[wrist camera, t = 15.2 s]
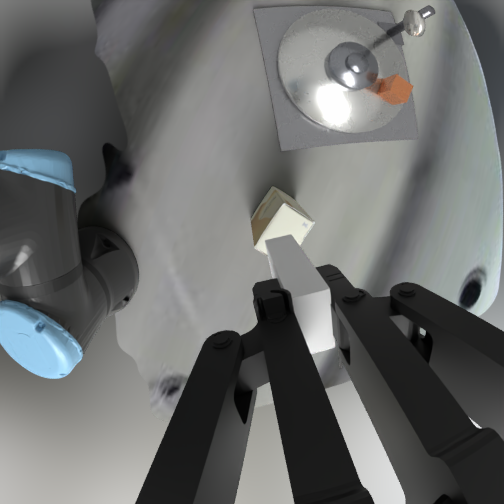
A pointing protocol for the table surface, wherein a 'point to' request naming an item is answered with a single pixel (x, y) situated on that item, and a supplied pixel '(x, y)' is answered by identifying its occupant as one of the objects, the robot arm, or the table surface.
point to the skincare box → (279, 219)
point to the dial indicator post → (408, 24)
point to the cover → (351, 66)
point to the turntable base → (285, 111)
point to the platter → (323, 90)
